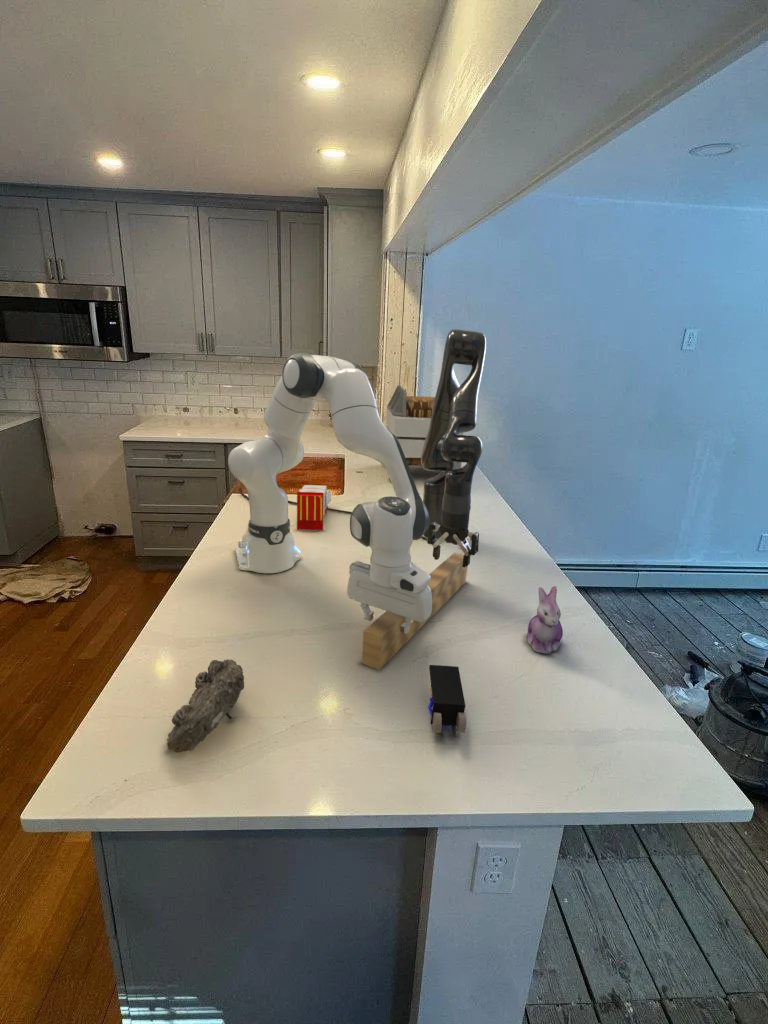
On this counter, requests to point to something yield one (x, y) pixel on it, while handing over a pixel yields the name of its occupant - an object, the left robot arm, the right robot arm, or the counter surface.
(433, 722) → the black wheeled block
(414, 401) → the grey slatted crate
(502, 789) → the counter surface
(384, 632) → the post
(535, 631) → the figurine
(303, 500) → the toy
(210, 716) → the fossil
